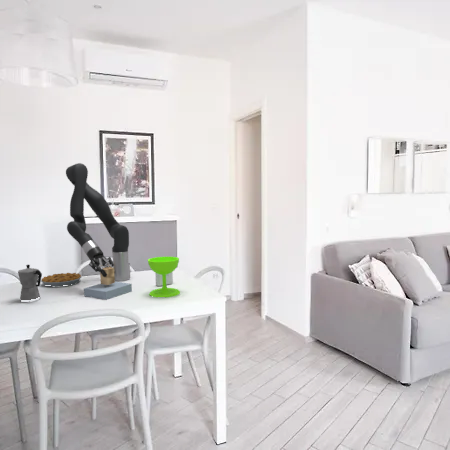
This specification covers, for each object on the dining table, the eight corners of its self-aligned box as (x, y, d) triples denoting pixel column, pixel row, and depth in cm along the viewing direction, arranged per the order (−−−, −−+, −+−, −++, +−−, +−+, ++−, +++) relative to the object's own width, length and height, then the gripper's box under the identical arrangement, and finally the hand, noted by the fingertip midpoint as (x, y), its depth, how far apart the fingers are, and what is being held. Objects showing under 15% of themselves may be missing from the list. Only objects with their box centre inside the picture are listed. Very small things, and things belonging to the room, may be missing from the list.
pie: (54, 279, 243) (53, 271, 243) (88, 279, 241) (87, 271, 241) (33, 288, 222) (33, 279, 221) (70, 288, 220) (70, 279, 219)
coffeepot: (12, 301, 195) (10, 265, 194) (29, 296, 204) (26, 262, 202) (34, 304, 189) (32, 267, 187) (50, 299, 197) (48, 263, 196)
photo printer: (169, 282, 228) (168, 261, 227) (174, 283, 225) (173, 262, 224) (154, 285, 221) (153, 264, 220) (159, 286, 218) (158, 265, 217)
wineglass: (183, 289, 211) (182, 256, 209) (176, 297, 195) (175, 262, 194) (154, 289, 213) (152, 256, 211) (145, 297, 197) (143, 262, 195)
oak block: (107, 281, 209) (107, 267, 208) (114, 282, 206) (114, 267, 206) (100, 283, 205) (99, 268, 204) (107, 284, 202) (106, 269, 201)
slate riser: (110, 287, 218) (109, 280, 217) (131, 291, 210) (131, 283, 210) (84, 295, 202) (83, 288, 202) (106, 299, 194) (106, 291, 194)
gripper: (85, 248, 201) (103, 273, 196) (106, 244, 214) (123, 267, 209) (78, 257, 204) (96, 282, 199) (99, 253, 217) (116, 276, 212)
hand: (109, 274), depth 204 cm, fingers closed on oak block, 5 cm apart
